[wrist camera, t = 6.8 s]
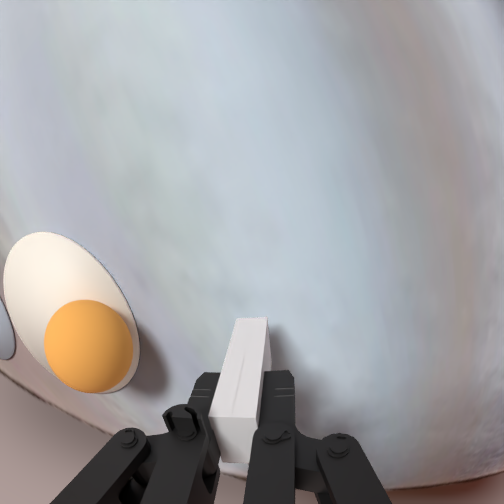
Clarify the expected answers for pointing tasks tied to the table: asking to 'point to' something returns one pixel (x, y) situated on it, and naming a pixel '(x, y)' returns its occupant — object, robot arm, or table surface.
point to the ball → (88, 346)
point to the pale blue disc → (6, 334)
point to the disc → (58, 290)
